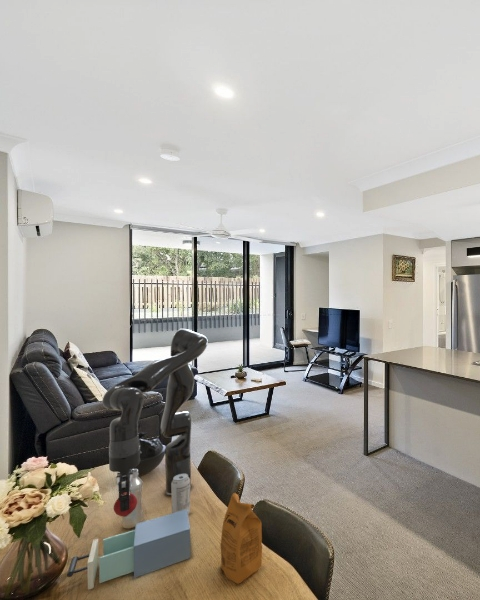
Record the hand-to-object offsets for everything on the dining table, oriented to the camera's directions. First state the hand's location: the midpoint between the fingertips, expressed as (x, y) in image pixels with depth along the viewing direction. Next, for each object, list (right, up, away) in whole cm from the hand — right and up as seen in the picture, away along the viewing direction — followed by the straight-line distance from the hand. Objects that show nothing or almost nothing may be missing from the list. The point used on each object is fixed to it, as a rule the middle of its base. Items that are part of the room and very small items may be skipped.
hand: (125, 504), depth 112 cm
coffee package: (+36, -20, 0) cm, 41 cm away
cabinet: (+8, -19, +5) cm, 22 cm away
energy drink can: (+1, -19, +26) cm, 32 cm away
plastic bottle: (-13, -19, +20) cm, 31 cm away
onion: (0, -4, 0) cm, 4 cm away
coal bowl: (-36, -18, +57) cm, 70 cm away
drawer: (-3, -19, -2) cm, 19 cm away
